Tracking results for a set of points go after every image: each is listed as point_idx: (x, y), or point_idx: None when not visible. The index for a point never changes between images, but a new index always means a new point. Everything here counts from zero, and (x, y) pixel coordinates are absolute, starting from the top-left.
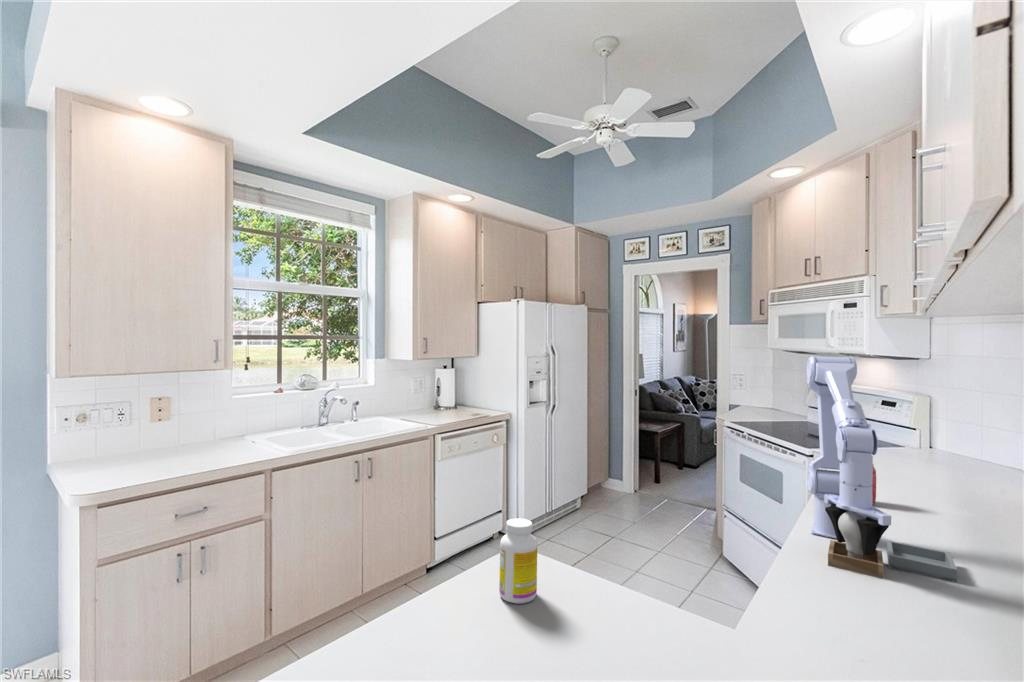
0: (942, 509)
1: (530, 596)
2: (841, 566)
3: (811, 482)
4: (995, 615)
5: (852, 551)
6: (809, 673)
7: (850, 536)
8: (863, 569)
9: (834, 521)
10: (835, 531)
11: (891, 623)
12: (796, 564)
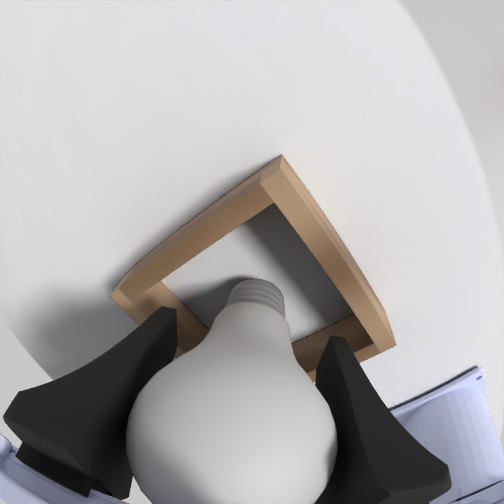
0: None
1: None
2: (232, 190)
3: None
4: (2, 307)
5: (235, 304)
6: None
7: (204, 349)
8: (166, 243)
9: (367, 423)
10: (357, 371)
11: None
12: (334, 6)
